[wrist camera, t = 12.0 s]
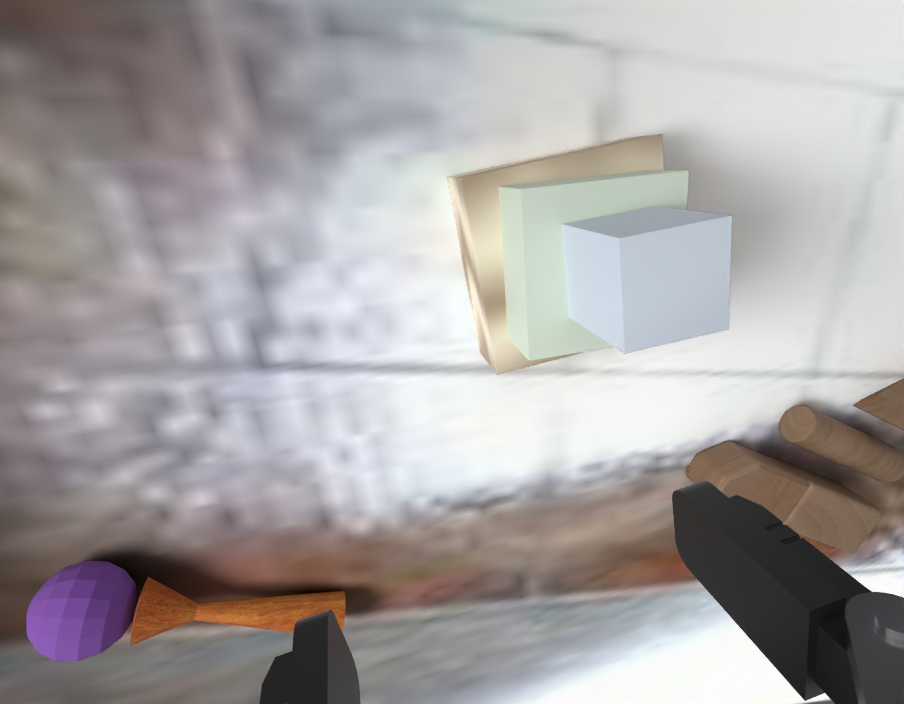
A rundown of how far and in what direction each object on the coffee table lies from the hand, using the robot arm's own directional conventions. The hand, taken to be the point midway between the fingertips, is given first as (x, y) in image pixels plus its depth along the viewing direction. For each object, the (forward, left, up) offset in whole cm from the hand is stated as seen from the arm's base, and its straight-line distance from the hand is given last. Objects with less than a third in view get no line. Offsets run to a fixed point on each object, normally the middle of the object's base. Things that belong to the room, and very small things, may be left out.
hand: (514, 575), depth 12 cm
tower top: (-1, +11, -21) cm, 23 cm away
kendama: (+17, -19, -26) cm, 36 cm away
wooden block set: (+19, +32, -26) cm, 45 cm away
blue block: (-2, +11, -17) cm, 20 cm away
